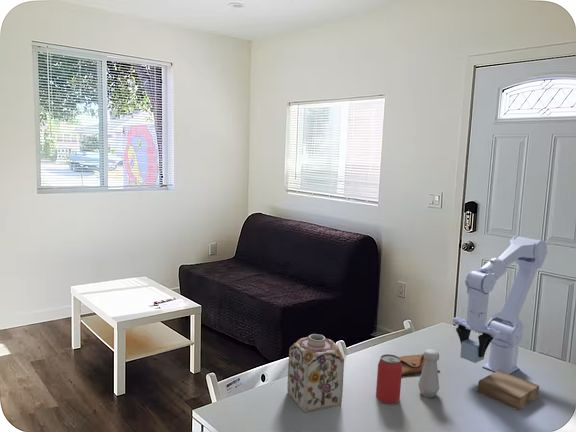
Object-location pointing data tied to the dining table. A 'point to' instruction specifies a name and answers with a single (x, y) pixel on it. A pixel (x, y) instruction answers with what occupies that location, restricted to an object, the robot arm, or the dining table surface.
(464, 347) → the blue cube
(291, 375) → the decorative jar
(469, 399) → the dining table surface
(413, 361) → the sunglasses case
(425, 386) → the salt shaker
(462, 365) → the dining table surface
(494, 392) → the wooden block
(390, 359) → the beer can
